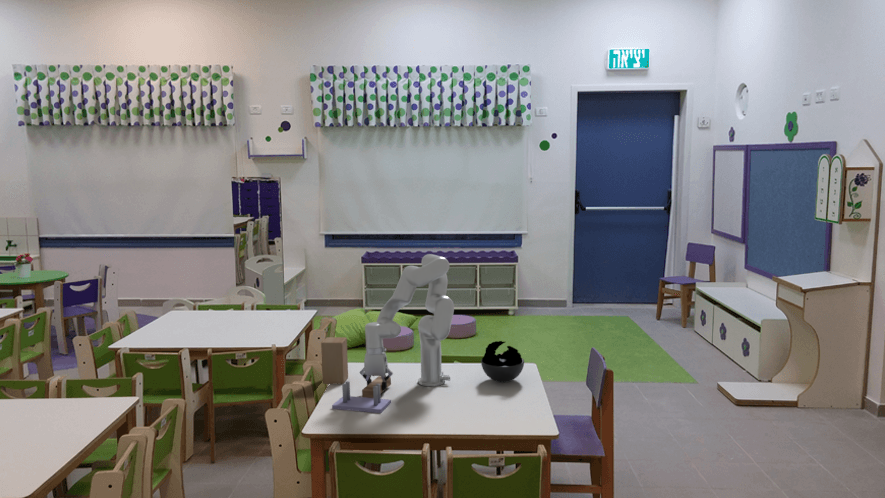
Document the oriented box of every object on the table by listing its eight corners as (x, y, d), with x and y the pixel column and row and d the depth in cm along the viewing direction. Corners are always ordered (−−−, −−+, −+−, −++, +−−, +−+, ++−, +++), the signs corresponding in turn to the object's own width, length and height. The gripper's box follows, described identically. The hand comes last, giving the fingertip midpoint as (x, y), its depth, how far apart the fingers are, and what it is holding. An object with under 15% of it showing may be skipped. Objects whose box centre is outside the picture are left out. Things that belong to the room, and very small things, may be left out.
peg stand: (391, 403, 297) (390, 381, 296) (381, 413, 286) (380, 390, 284) (343, 398, 303) (343, 377, 302) (332, 408, 292) (331, 386, 290)
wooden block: (348, 377, 332) (346, 337, 330) (343, 384, 323) (341, 342, 320) (328, 377, 333) (326, 336, 331) (322, 384, 324) (320, 342, 321)
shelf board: (379, 383, 319) (378, 376, 319) (391, 384, 317) (390, 377, 317) (362, 397, 302) (361, 389, 302) (374, 398, 300) (374, 390, 300)
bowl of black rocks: (480, 374, 333) (480, 336, 331) (522, 374, 332) (522, 336, 330) (481, 388, 314) (481, 348, 311) (525, 388, 313) (525, 347, 310)
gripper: (396, 348, 308) (398, 387, 311) (360, 347, 313) (362, 385, 316) (390, 353, 301) (392, 393, 304) (353, 352, 306) (355, 391, 309)
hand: (377, 388), depth 310 cm, fingers closed on shelf board, 6 cm apart
